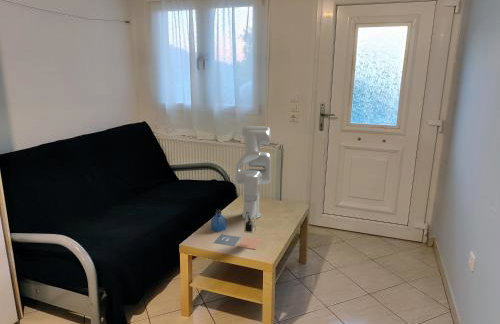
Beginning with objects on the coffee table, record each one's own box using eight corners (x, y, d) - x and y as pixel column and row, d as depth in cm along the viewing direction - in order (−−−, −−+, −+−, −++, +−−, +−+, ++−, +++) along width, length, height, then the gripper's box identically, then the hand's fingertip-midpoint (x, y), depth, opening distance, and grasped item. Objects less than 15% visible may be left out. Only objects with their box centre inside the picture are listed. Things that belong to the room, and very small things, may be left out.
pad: (244, 237, 202) (244, 236, 202) (261, 240, 200) (261, 239, 199) (237, 247, 191) (237, 246, 191) (255, 249, 188) (255, 248, 188)
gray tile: (221, 234, 206) (221, 234, 206) (241, 237, 203) (241, 237, 203) (213, 243, 195) (213, 242, 195) (233, 246, 192) (233, 246, 192)
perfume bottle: (211, 229, 213) (211, 210, 210) (219, 226, 217) (219, 207, 215) (217, 232, 209) (217, 213, 206) (226, 229, 213) (226, 210, 210)
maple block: (246, 228, 196) (247, 216, 195) (255, 229, 195) (255, 217, 194) (244, 232, 192) (244, 219, 190) (253, 233, 190) (253, 221, 189)
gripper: (248, 191, 198) (248, 222, 202) (238, 201, 182) (238, 234, 186) (261, 193, 196) (260, 224, 200) (252, 202, 180) (252, 236, 184)
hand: (250, 228), depth 193 cm, fingers closed on maple block, 4 cm apart
